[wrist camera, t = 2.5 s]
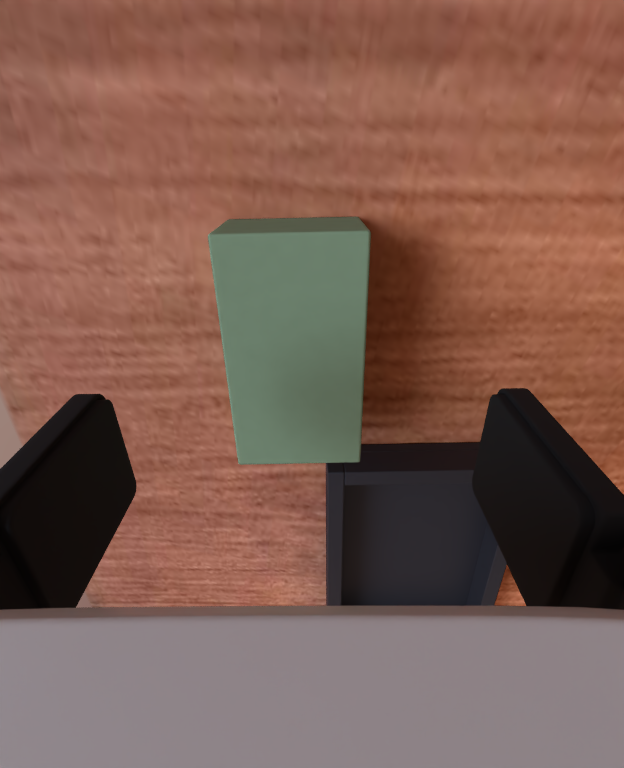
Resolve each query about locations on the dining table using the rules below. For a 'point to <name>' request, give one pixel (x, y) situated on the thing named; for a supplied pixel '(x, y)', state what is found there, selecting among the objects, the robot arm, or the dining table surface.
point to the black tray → (409, 529)
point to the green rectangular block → (293, 335)
